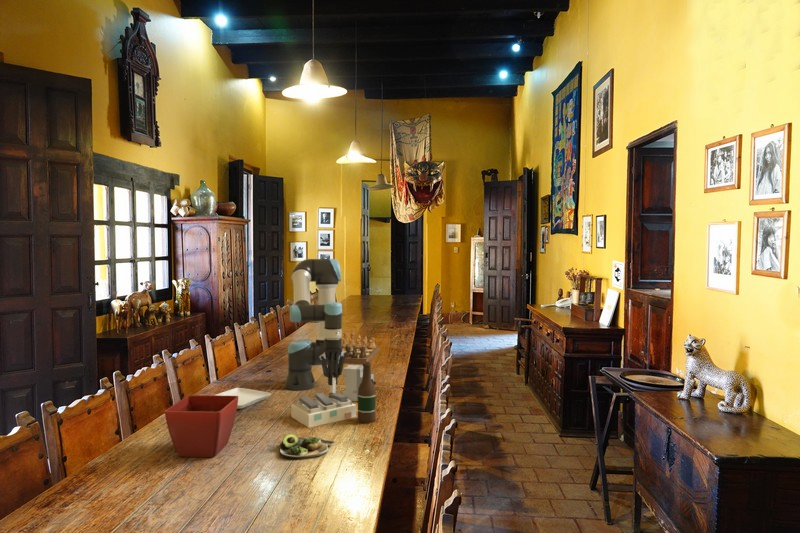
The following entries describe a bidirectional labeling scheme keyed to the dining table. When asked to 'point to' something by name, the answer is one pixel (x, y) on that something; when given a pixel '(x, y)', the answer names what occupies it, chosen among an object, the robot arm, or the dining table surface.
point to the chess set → (358, 349)
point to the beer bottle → (366, 396)
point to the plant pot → (201, 424)
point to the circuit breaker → (353, 381)
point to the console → (323, 412)
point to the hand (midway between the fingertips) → (332, 392)
